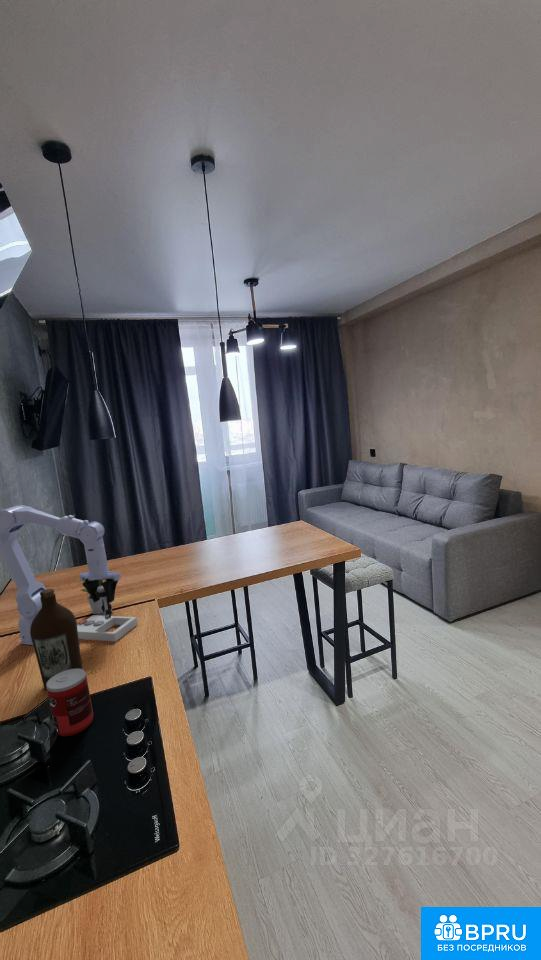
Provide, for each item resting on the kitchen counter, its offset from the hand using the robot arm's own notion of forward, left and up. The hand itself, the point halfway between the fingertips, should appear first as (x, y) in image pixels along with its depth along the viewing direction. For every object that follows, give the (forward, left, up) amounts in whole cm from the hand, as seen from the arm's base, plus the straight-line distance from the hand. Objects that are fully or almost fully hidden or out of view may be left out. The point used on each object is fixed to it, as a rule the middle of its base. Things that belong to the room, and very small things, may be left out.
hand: (103, 601), depth 135 cm
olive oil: (+7, -26, -11) cm, 29 cm away
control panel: (-2, 0, -10) cm, 11 cm away
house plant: (-14, +14, -11) cm, 22 cm away
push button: (0, 0, -6) cm, 6 cm away
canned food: (+23, -39, -11) cm, 47 cm away
